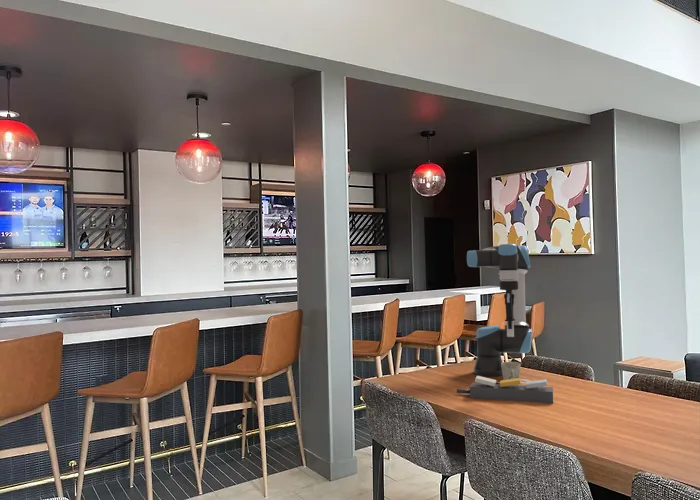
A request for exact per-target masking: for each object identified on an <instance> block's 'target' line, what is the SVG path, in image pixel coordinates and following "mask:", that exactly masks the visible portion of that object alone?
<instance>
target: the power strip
mask: <svg viewBox="0 0 700 500" xmlns="http://www.w3.org/2000/svg"><path fill="white" fill-rule="evenodd" d="M456 394H466V395H469V399H479V400H480V399H481V400H495V401H496V400H497V401H509V400H510V401H511V402H527V403H539V404H540V403H541V404H554V387H553V386H543V387H535V388H527V389H526V385H521V384H520V385H512V386H505V387H500V383H496V385H495V387H494V386H490V385H486V384H482V383H478V382H472V383H471V384H470V386H469V389H463V388H462V389H460V388H457V389H456Z"/></svg>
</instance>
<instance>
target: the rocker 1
mask: <svg viewBox="0 0 700 500" xmlns="http://www.w3.org/2000/svg"><path fill="white" fill-rule="evenodd" d="M474 383H482V384H486V385H490V386H494V387H495V385H496V384H497V380H496V379H493V378H489V377H486V376H482V375H476V377H475V379H474Z"/></svg>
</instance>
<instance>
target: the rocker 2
mask: <svg viewBox="0 0 700 500" xmlns="http://www.w3.org/2000/svg"><path fill="white" fill-rule="evenodd" d="M499 384H500V387H505V386H512V385H521V384H522V378H521V377H519V378H515V379H508V380H503V379H502V380H500V381H499Z"/></svg>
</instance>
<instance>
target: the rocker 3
mask: <svg viewBox="0 0 700 500" xmlns="http://www.w3.org/2000/svg"><path fill="white" fill-rule="evenodd" d="M525 386H526V389H527V388H535V387H548V380H547V379H546V378H544V379H537V380H536V379H535V380H531V381H526V382H525Z"/></svg>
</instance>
